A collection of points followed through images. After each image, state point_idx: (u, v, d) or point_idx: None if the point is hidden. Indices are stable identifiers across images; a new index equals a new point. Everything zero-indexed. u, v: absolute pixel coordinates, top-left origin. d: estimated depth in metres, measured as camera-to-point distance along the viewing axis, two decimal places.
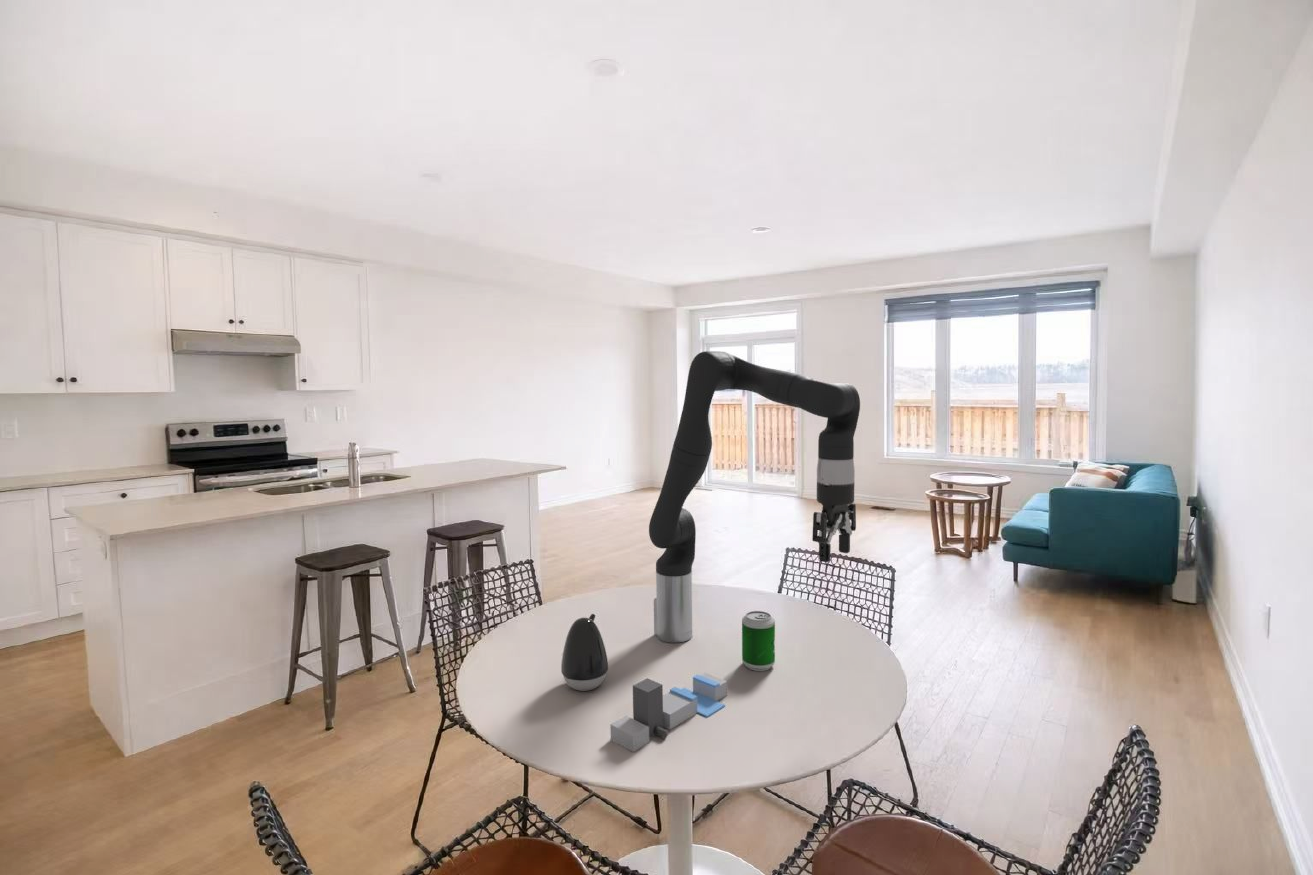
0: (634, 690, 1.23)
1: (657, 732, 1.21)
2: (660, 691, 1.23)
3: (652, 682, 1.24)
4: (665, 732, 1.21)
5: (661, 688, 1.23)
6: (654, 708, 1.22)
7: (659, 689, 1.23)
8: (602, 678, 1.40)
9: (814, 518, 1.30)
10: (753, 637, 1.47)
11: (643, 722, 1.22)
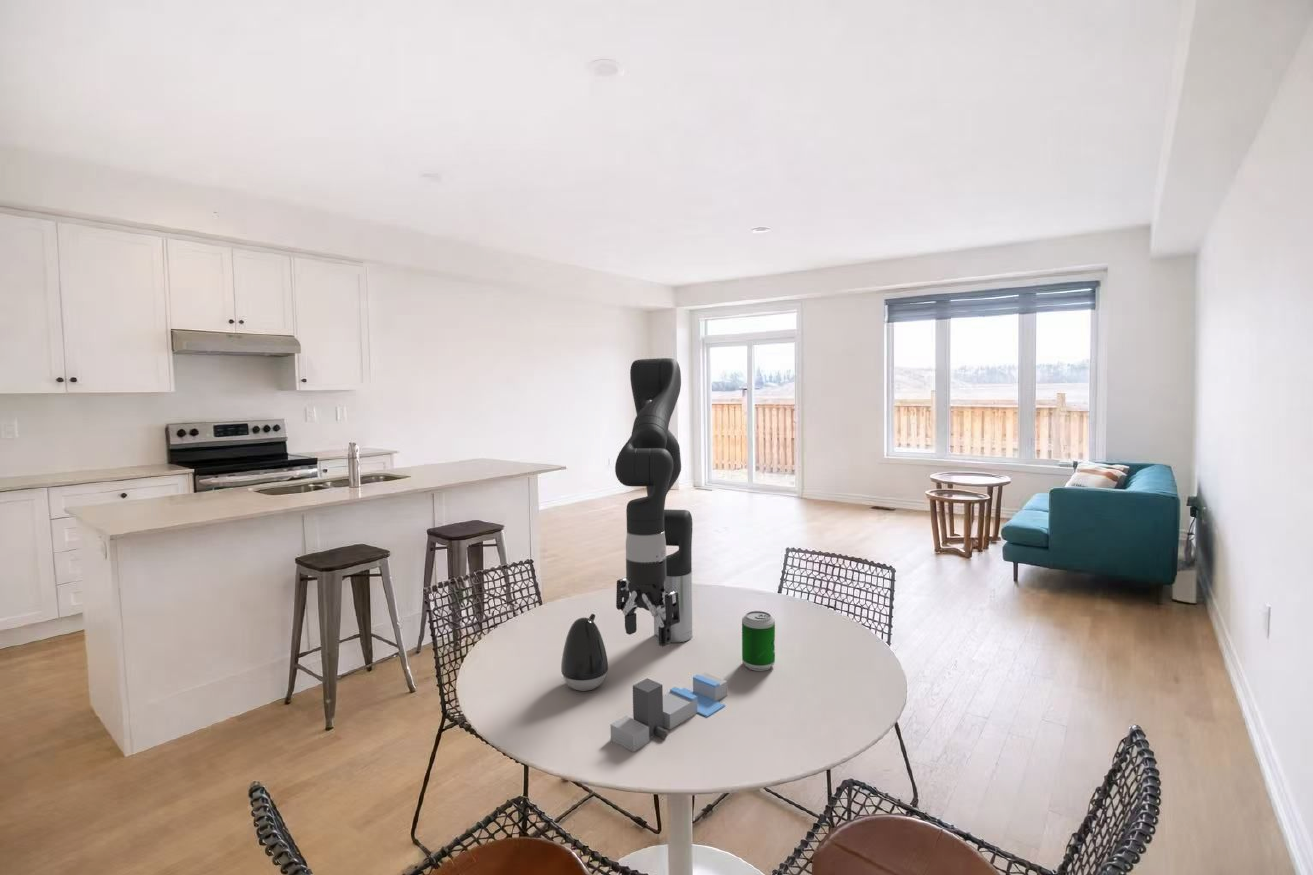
0: (634, 690, 1.23)
1: (657, 732, 1.21)
2: (660, 691, 1.23)
3: (652, 682, 1.24)
4: (665, 732, 1.21)
5: (661, 688, 1.23)
6: (654, 708, 1.22)
7: (659, 689, 1.23)
8: (602, 678, 1.40)
9: (670, 600, 1.16)
10: (753, 637, 1.47)
11: (643, 722, 1.22)
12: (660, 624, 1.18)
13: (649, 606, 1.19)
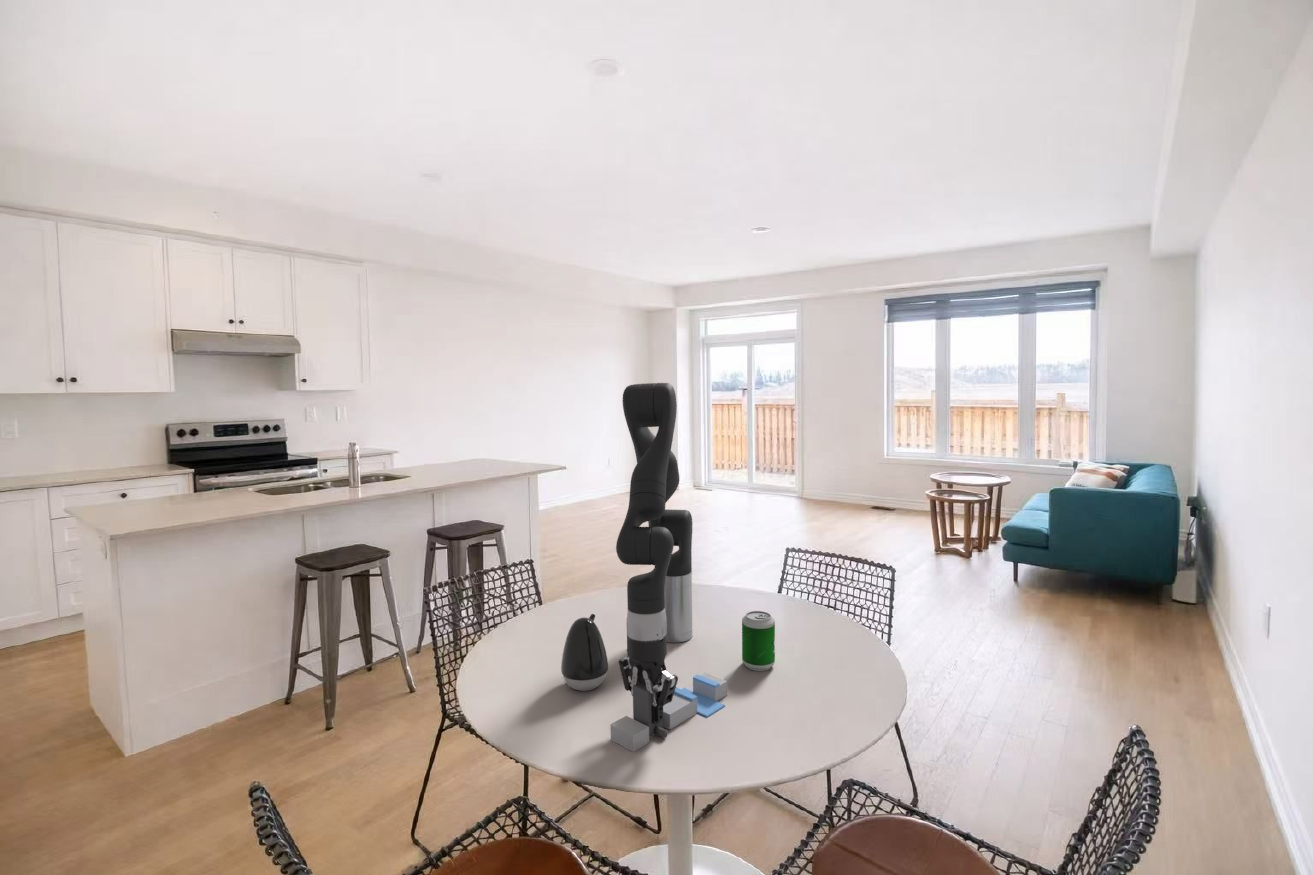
0: (634, 690, 1.23)
1: (657, 732, 1.21)
2: None
3: None
4: (665, 732, 1.21)
5: None
6: None
7: None
8: (602, 678, 1.40)
9: (669, 686, 1.18)
10: (753, 637, 1.47)
11: (643, 722, 1.22)
12: (653, 703, 1.21)
13: (647, 683, 1.21)
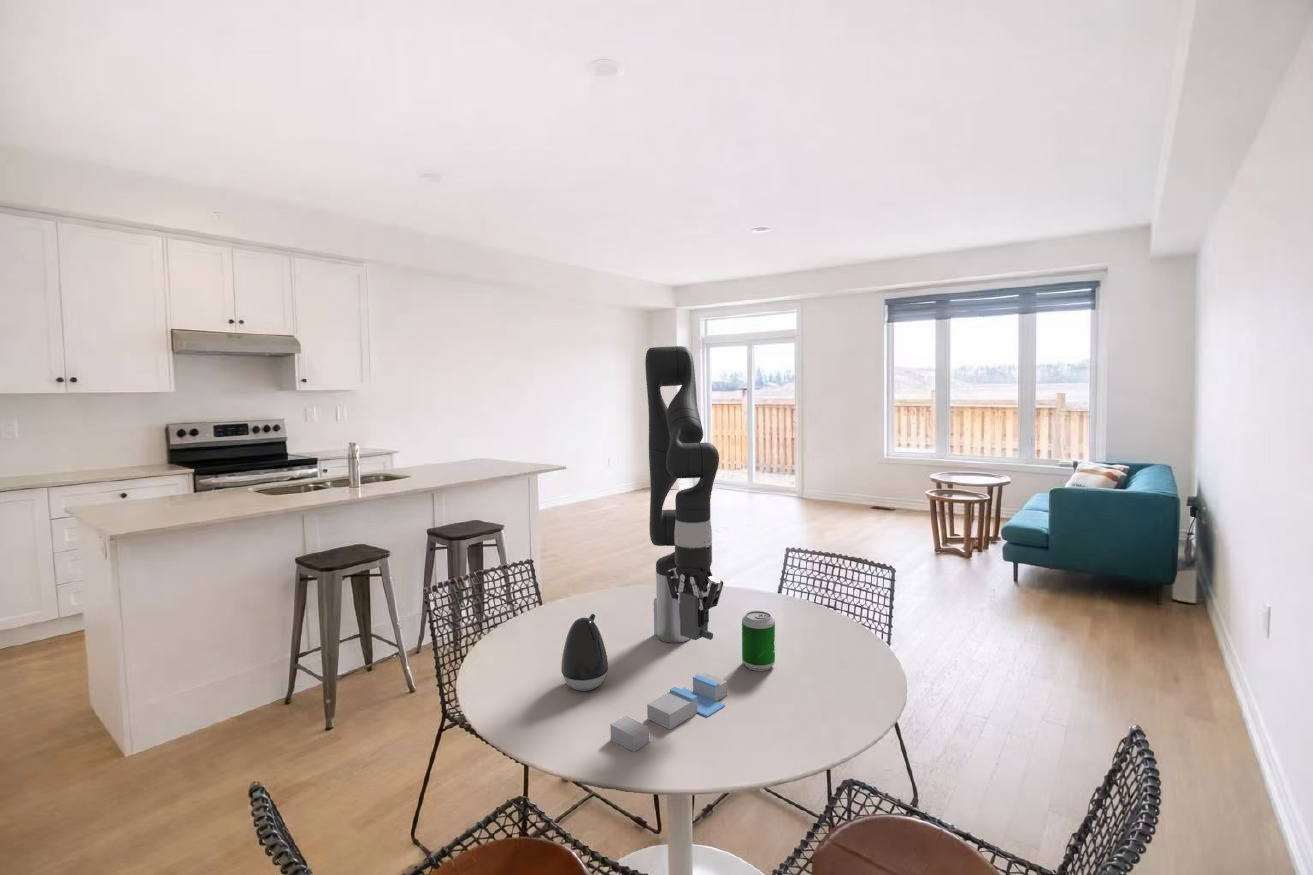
0: (681, 596, 1.32)
1: (703, 634, 1.30)
2: None
3: None
4: (711, 634, 1.30)
5: None
6: None
7: None
8: (602, 678, 1.40)
9: (715, 589, 1.27)
10: (753, 637, 1.47)
11: (690, 625, 1.30)
12: (699, 607, 1.29)
13: (694, 589, 1.29)
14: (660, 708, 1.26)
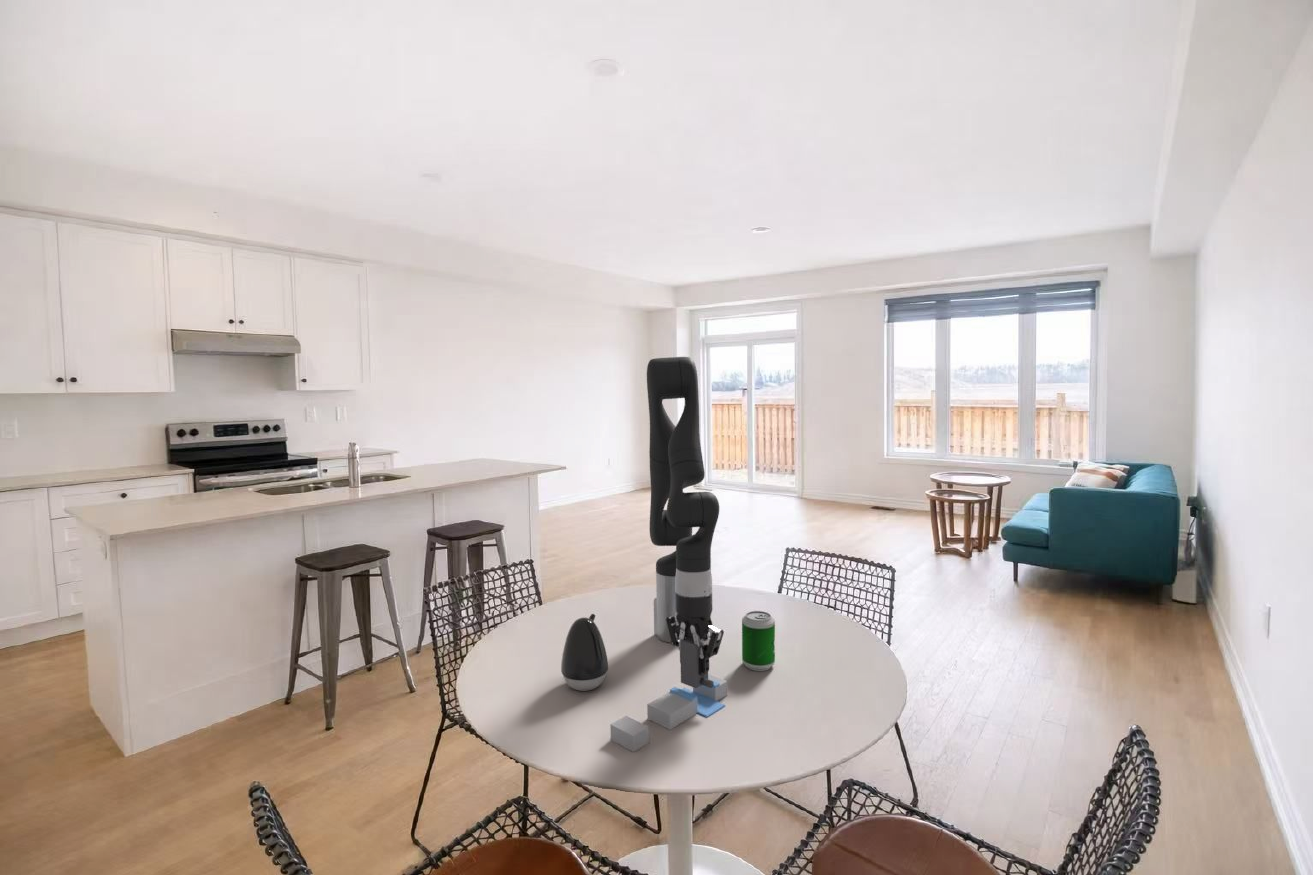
0: (682, 644, 1.32)
1: (703, 683, 1.31)
2: None
3: None
4: (711, 683, 1.30)
5: None
6: None
7: None
8: (602, 678, 1.40)
9: (716, 639, 1.27)
10: (753, 637, 1.47)
11: (691, 673, 1.31)
12: (700, 655, 1.30)
13: (694, 637, 1.30)
14: (660, 708, 1.26)
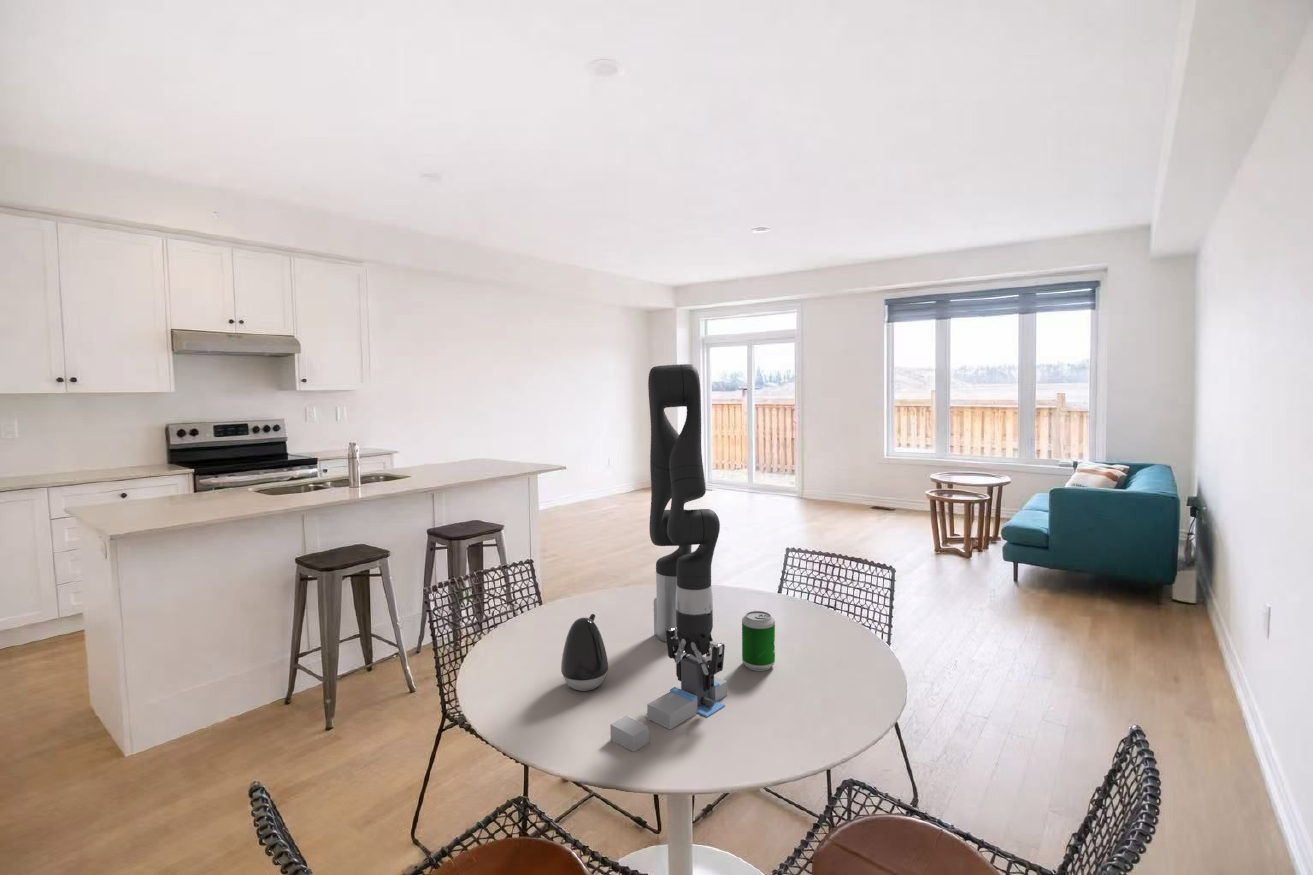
0: (682, 664, 1.33)
1: (704, 702, 1.31)
2: None
3: None
4: (712, 702, 1.31)
5: None
6: (701, 680, 1.32)
7: None
8: (602, 678, 1.40)
9: (717, 653, 1.28)
10: (753, 637, 1.47)
11: (691, 693, 1.32)
12: (705, 672, 1.30)
13: (696, 654, 1.30)
14: (660, 708, 1.26)
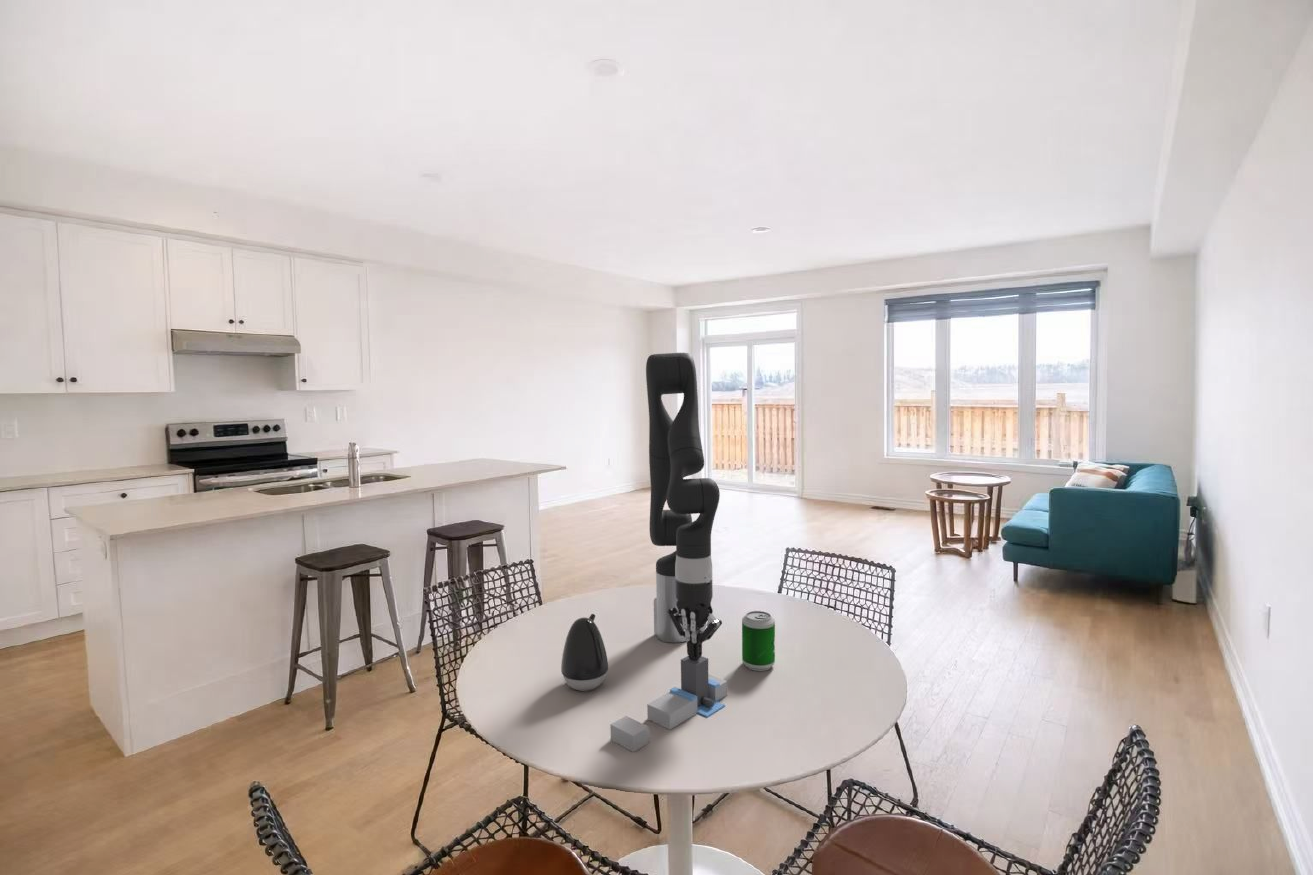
0: (682, 664, 1.33)
1: (704, 702, 1.31)
2: (706, 665, 1.33)
3: None
4: (712, 702, 1.31)
5: (707, 662, 1.33)
6: (701, 680, 1.32)
7: (705, 663, 1.33)
8: (602, 678, 1.40)
9: (713, 629, 1.28)
10: (753, 637, 1.47)
11: (691, 693, 1.32)
12: (693, 640, 1.31)
13: (692, 623, 1.30)
14: (660, 708, 1.26)
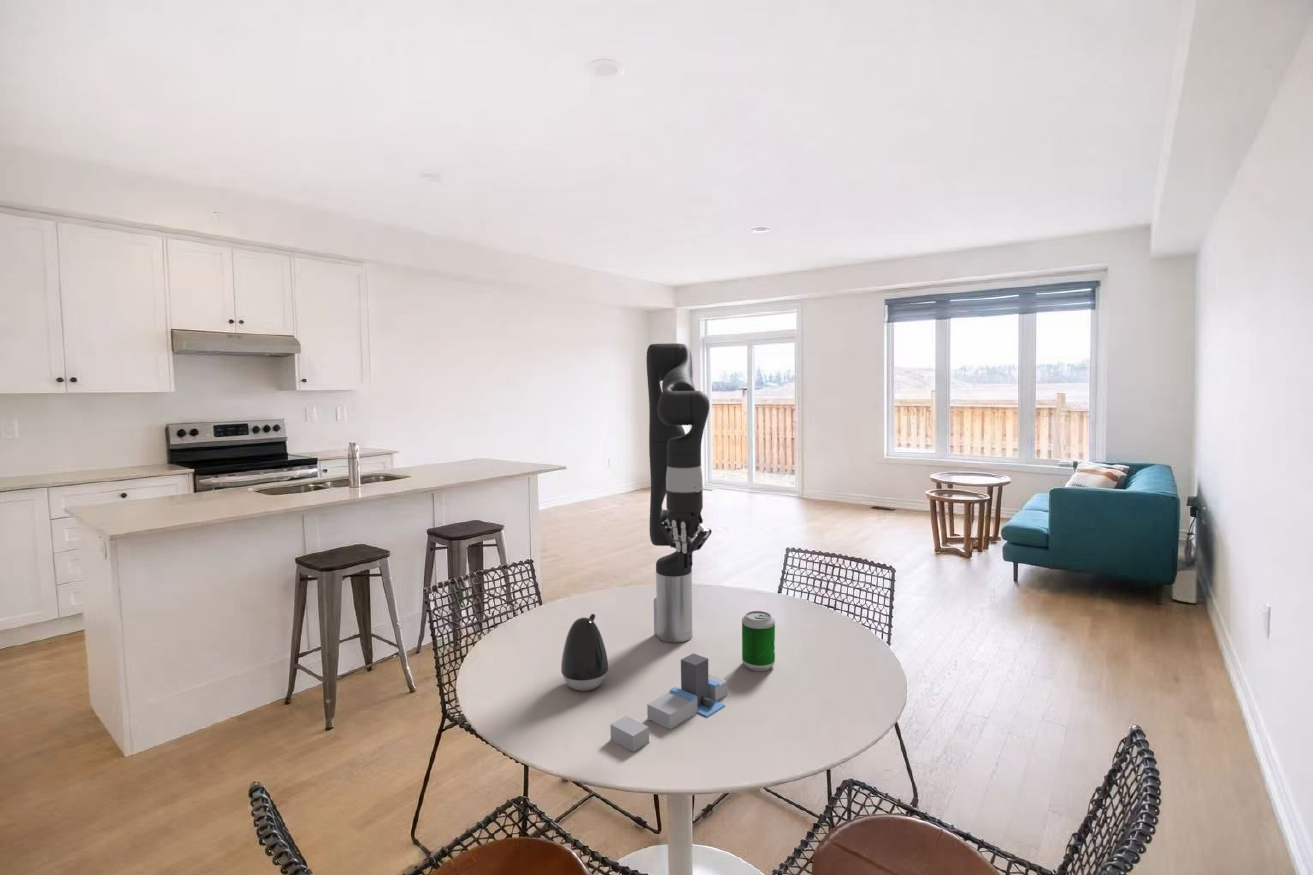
0: (682, 664, 1.33)
1: (704, 702, 1.31)
2: (706, 665, 1.33)
3: (698, 656, 1.34)
4: (712, 702, 1.31)
5: (707, 662, 1.33)
6: (701, 680, 1.32)
7: (705, 663, 1.33)
8: (602, 678, 1.40)
9: (703, 537, 1.30)
10: (753, 637, 1.47)
11: (691, 693, 1.32)
12: (683, 550, 1.34)
13: (682, 533, 1.33)
14: (660, 708, 1.26)
